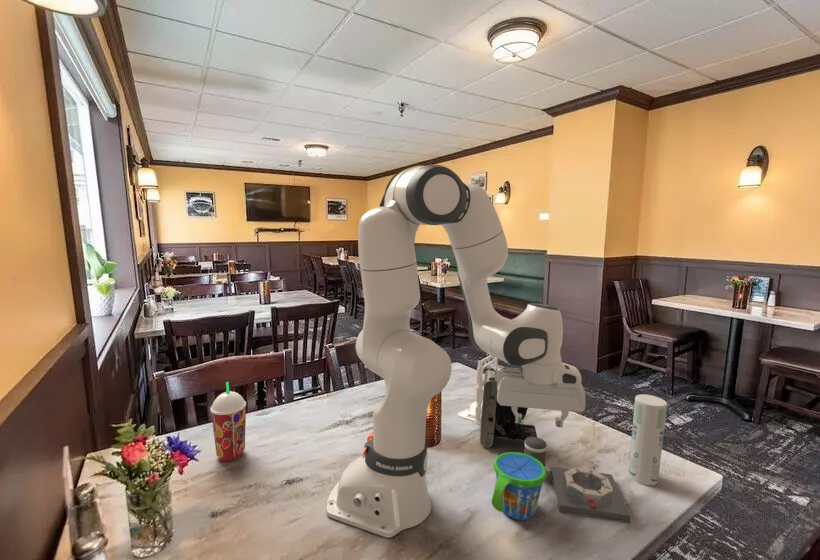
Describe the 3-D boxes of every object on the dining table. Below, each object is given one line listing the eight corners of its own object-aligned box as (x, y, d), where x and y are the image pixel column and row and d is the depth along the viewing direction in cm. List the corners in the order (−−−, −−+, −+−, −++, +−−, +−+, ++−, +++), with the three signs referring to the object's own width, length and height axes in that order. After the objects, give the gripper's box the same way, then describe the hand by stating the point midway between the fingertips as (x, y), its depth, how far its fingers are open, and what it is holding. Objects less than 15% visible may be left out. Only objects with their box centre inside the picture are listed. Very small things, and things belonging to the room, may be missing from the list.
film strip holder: (474, 400, 137) (476, 345, 135) (512, 412, 129) (515, 353, 127) (454, 416, 126) (455, 356, 123) (494, 430, 118) (497, 366, 115)
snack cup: (521, 482, 94) (523, 442, 92) (560, 509, 85) (563, 465, 84) (473, 509, 85) (475, 465, 83) (511, 541, 76) (514, 493, 75)
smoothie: (253, 455, 103) (250, 382, 100) (221, 469, 97) (216, 392, 94) (239, 443, 109) (236, 373, 106) (208, 455, 103) (203, 382, 100)
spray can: (658, 489, 92) (667, 408, 89) (627, 480, 95) (634, 401, 93) (658, 474, 97) (666, 398, 95) (628, 466, 101) (635, 392, 98)
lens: (523, 477, 96) (525, 446, 95) (522, 464, 101) (524, 435, 100) (545, 480, 95) (547, 449, 94) (543, 467, 100) (545, 438, 99)
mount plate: (559, 511, 84) (560, 496, 84) (550, 471, 98) (551, 458, 97) (630, 522, 82) (631, 507, 81) (611, 480, 95) (612, 466, 95)
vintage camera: (537, 456, 105) (544, 385, 103) (478, 447, 108) (484, 378, 106) (533, 438, 115) (539, 372, 112) (479, 430, 118) (484, 366, 115)
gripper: (496, 371, 93) (495, 426, 95) (589, 378, 89) (585, 435, 91) (496, 362, 99) (495, 413, 102) (583, 368, 95) (579, 421, 97)
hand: (538, 424), depth 96 cm, fingers open, 8 cm apart
